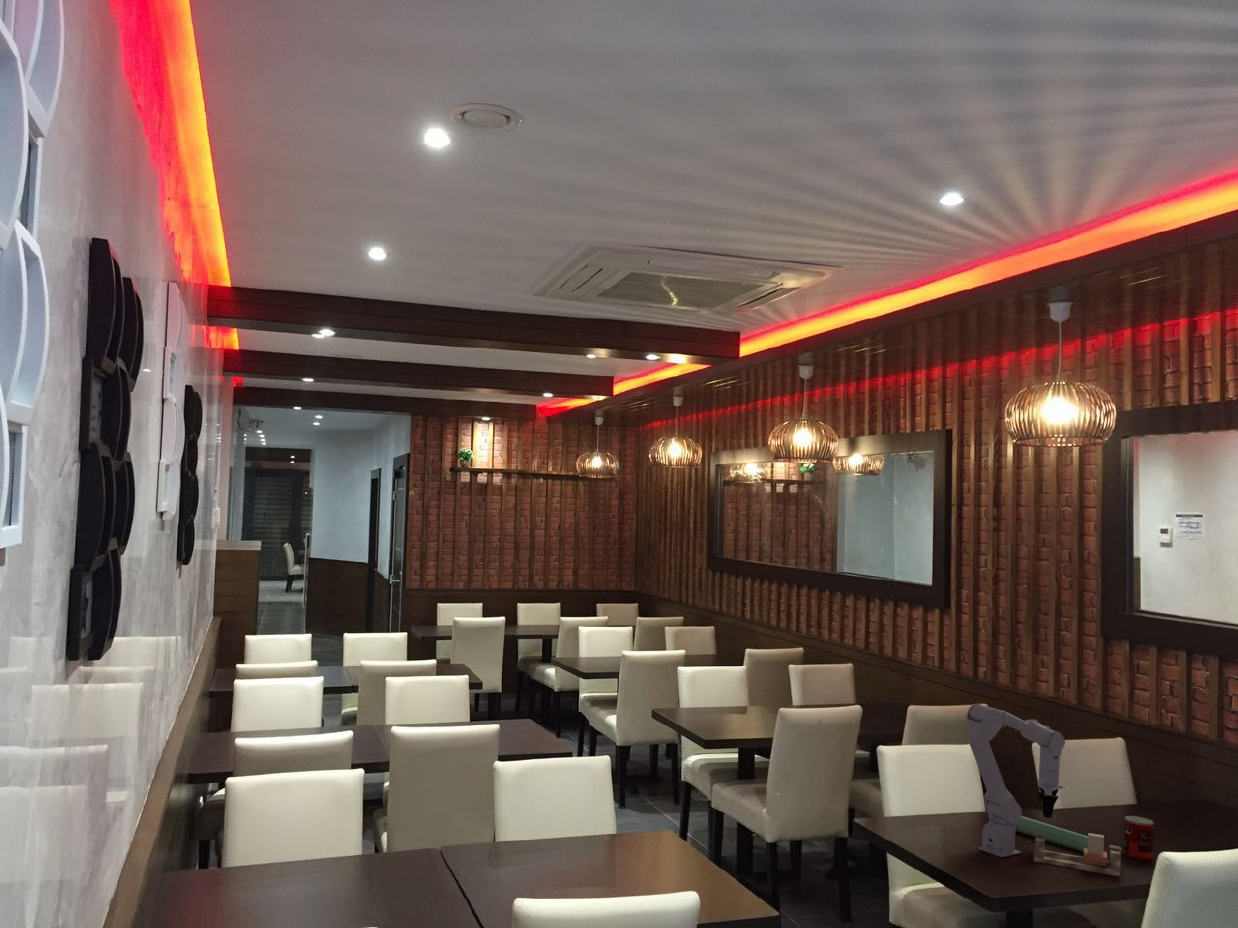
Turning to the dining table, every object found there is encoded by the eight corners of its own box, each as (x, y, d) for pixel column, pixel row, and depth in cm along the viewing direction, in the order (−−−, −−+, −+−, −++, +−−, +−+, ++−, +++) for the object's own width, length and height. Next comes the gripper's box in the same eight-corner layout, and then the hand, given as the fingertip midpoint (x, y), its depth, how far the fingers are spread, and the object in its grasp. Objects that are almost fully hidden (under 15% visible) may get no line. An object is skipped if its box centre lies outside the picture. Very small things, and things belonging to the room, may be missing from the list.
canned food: (1126, 850, 314) (1127, 813, 314) (1155, 856, 309) (1156, 820, 309) (1120, 855, 308) (1121, 818, 308) (1149, 862, 303) (1150, 824, 303)
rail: (1033, 860, 297) (1034, 837, 298) (1034, 853, 305) (1034, 830, 305) (1121, 876, 288) (1122, 852, 288) (1120, 868, 295) (1120, 844, 296)
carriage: (1083, 863, 293) (1084, 835, 293) (1083, 857, 299) (1084, 830, 299) (1107, 867, 291) (1107, 839, 291) (1106, 861, 296) (1107, 834, 297)
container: (1096, 832, 310) (1019, 809, 329) (1086, 842, 306) (1010, 818, 326) (1098, 849, 311) (1022, 825, 331) (1089, 860, 307) (1013, 835, 327)
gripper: (1063, 776, 303) (1061, 822, 302) (1063, 766, 316) (1061, 810, 316) (1037, 772, 306) (1036, 818, 305) (1038, 762, 319) (1037, 806, 318)
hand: (1047, 814), depth 310 cm, fingers open, 7 cm apart
